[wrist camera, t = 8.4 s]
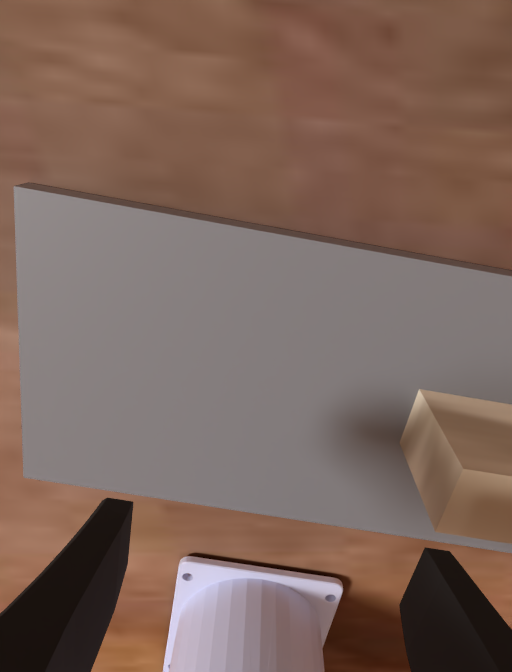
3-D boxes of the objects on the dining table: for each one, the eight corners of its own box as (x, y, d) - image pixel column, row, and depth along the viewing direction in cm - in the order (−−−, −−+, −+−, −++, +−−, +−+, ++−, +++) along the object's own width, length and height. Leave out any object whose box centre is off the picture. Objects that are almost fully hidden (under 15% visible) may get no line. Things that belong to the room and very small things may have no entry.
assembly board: (777, 578, 23) (798, 597, 22) (34, 462, 21) (23, 477, 20) (976, 355, 18) (1015, 367, 17) (28, 182, 16) (13, 186, 15)
